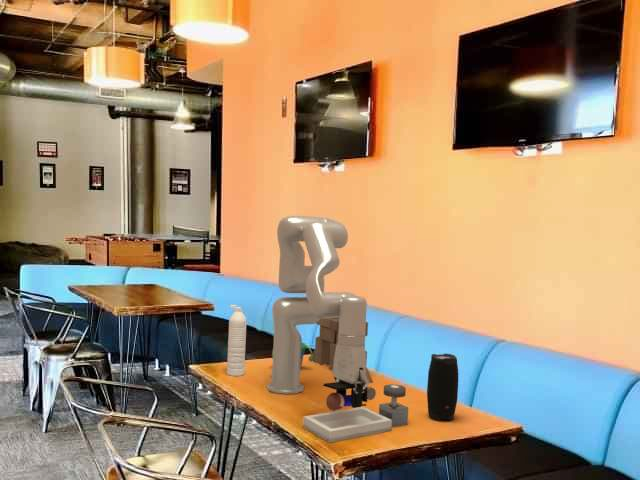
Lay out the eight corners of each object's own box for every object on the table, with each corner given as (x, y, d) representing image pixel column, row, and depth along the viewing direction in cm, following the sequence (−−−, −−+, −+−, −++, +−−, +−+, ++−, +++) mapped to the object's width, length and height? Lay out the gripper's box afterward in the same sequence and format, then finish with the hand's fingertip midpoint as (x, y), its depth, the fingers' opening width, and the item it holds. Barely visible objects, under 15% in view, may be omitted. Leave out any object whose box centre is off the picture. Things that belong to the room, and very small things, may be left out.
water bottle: (247, 375, 221) (250, 307, 221) (231, 377, 218) (234, 308, 217) (236, 369, 229) (239, 304, 228) (221, 371, 225) (223, 305, 224)
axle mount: (378, 420, 177) (379, 404, 176) (394, 418, 180) (394, 401, 180) (391, 427, 172) (392, 410, 171) (407, 424, 175) (408, 407, 175)
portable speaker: (456, 423, 177) (459, 360, 177) (424, 420, 179) (428, 357, 179) (456, 415, 185) (459, 354, 185) (426, 411, 188) (429, 351, 187)
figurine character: (357, 405, 176) (319, 408, 166) (361, 378, 176) (322, 380, 166) (374, 411, 170) (335, 414, 160) (378, 384, 171) (339, 385, 161)
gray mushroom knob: (378, 409, 177) (379, 384, 176) (394, 406, 180) (396, 382, 180) (392, 415, 171) (393, 390, 171) (409, 412, 175) (410, 388, 175)
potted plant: (312, 367, 238) (313, 342, 238) (310, 374, 228) (311, 347, 227) (273, 365, 239) (274, 339, 239) (269, 371, 229) (270, 344, 228)
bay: (302, 427, 168) (303, 416, 168) (362, 416, 180) (363, 406, 180) (329, 442, 157) (329, 431, 157) (391, 430, 169) (391, 420, 169)
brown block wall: (303, 360, 250) (306, 306, 250) (320, 358, 255) (323, 305, 254) (359, 384, 216) (362, 322, 216) (378, 382, 221) (381, 321, 220)
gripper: (323, 335, 173) (320, 396, 173) (359, 347, 158) (356, 414, 159) (344, 334, 177) (341, 393, 177) (381, 345, 163) (378, 410, 163)
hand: (348, 402), depth 168 cm, fingers closed on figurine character, 6 cm apart
